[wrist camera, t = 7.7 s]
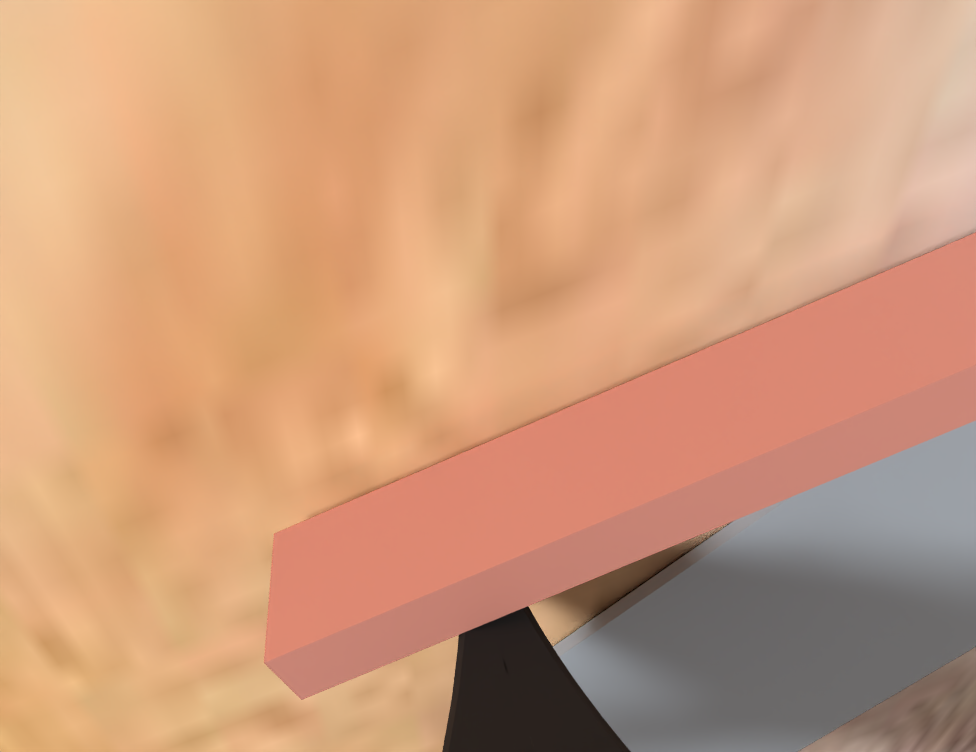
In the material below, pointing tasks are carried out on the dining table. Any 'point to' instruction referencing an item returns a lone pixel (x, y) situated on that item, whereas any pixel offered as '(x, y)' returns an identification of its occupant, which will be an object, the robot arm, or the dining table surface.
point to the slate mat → (795, 612)
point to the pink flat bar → (627, 472)
